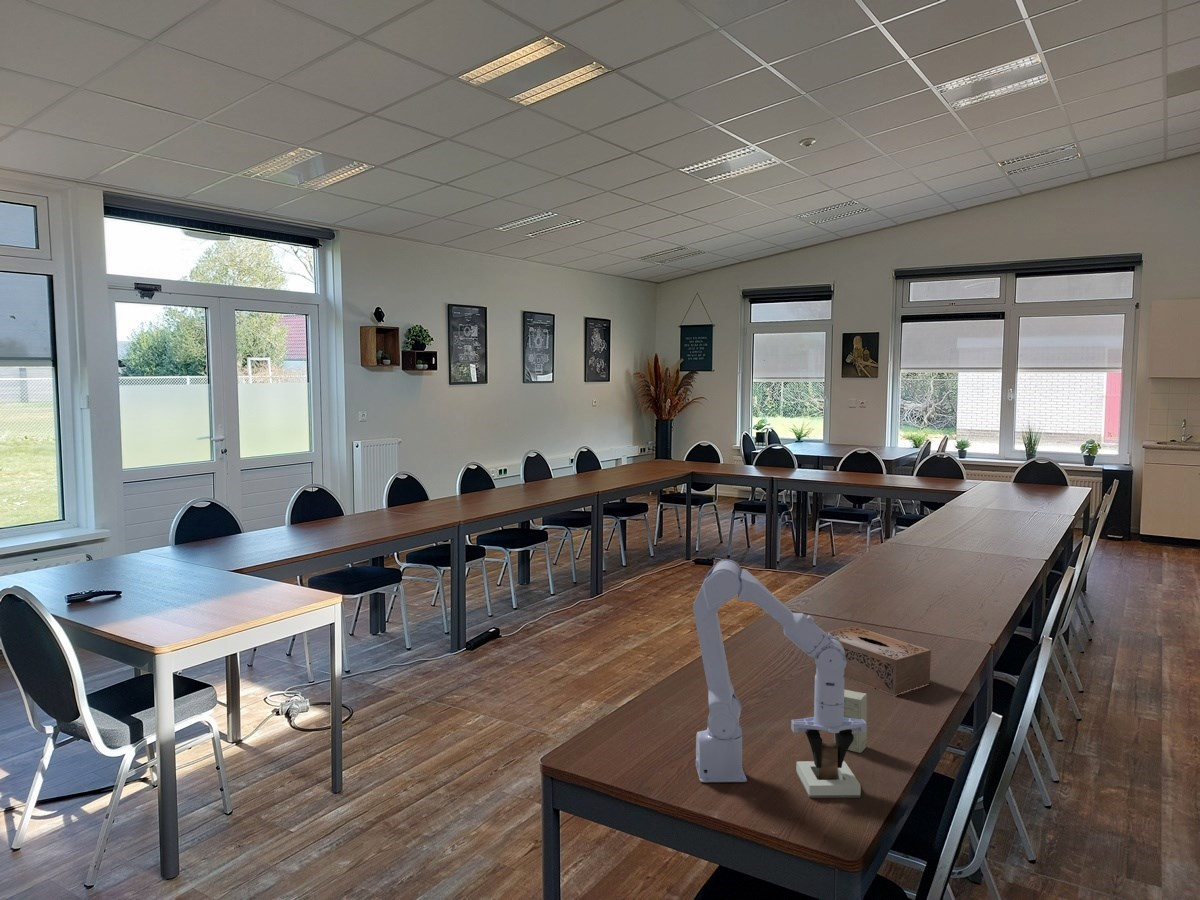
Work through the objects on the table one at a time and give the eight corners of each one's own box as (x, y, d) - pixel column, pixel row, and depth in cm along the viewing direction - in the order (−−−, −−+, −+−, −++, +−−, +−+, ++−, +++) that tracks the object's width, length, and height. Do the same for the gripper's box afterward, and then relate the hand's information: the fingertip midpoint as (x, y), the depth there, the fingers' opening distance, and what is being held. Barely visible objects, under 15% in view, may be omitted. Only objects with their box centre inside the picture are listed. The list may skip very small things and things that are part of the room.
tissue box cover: (818, 668, 228) (819, 633, 227) (852, 658, 236) (853, 625, 235) (894, 697, 206) (895, 660, 206) (929, 686, 214) (930, 650, 213)
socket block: (809, 797, 156) (809, 785, 156) (796, 773, 166) (796, 761, 166) (860, 797, 156) (860, 785, 156) (844, 772, 166) (844, 761, 166)
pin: (820, 783, 159) (821, 749, 158) (817, 774, 163) (818, 741, 162) (839, 784, 159) (839, 750, 158) (835, 775, 162) (836, 741, 162)
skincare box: (867, 746, 178) (868, 693, 177) (860, 754, 174) (862, 700, 173) (839, 739, 182) (840, 687, 181) (832, 746, 178) (833, 693, 177)
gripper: (797, 708, 156) (796, 775, 157) (872, 707, 156) (870, 775, 157) (789, 694, 163) (788, 758, 164) (860, 693, 163) (858, 758, 164)
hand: (827, 765), depth 161 cm, fingers closed on pin, 4 cm apart
